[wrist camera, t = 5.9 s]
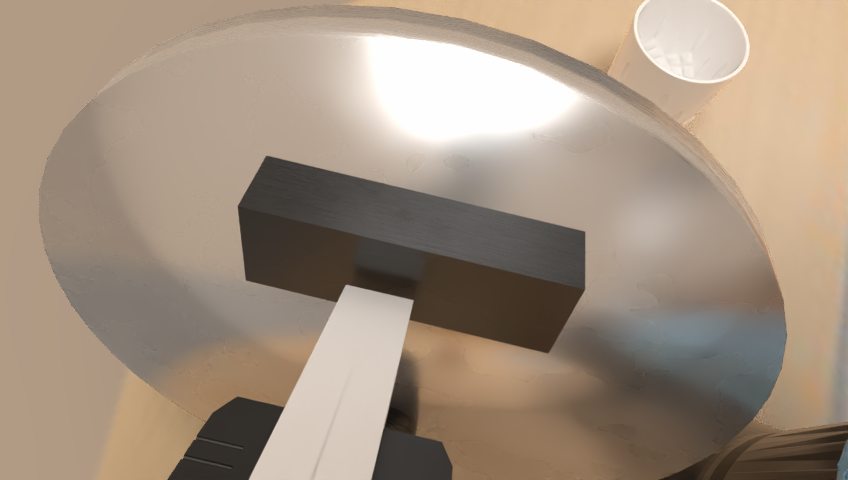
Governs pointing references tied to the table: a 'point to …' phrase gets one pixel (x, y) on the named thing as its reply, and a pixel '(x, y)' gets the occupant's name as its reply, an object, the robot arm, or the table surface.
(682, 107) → the white cup
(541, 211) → the cooker lid
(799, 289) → the table surface
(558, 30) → the table surface
